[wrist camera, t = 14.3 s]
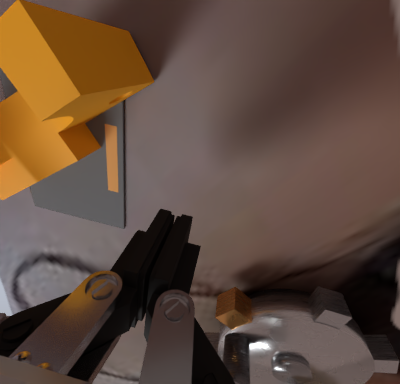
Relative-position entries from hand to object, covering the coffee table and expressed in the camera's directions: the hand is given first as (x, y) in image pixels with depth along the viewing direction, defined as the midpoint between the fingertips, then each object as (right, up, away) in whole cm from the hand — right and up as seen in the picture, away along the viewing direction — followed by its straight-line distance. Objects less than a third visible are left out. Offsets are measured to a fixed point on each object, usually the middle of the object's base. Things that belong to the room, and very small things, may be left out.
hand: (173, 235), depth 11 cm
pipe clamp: (-7, +7, +3) cm, 10 cm away
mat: (-8, +5, +4) cm, 10 cm away
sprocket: (+9, -11, +9) cm, 17 cm away
